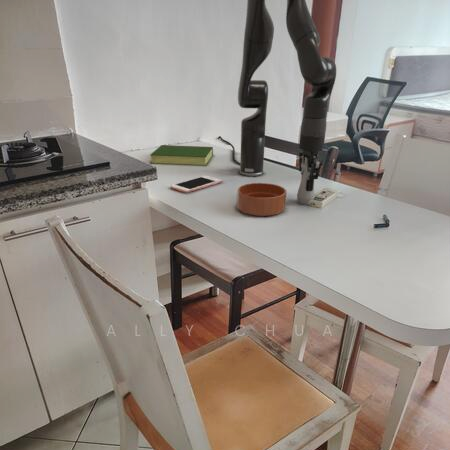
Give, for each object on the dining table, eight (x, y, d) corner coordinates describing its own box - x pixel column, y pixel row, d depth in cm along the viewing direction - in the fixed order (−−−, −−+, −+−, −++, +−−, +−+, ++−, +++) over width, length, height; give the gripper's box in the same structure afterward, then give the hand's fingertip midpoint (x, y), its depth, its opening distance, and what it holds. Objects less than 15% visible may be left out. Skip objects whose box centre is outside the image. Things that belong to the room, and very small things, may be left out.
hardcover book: (212, 155, 191) (212, 146, 189) (205, 165, 175) (205, 156, 173) (160, 153, 194) (160, 145, 192) (149, 163, 178) (148, 154, 176)
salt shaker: (303, 206, 133) (307, 165, 126) (292, 201, 138) (296, 161, 131) (317, 203, 136) (322, 163, 129) (306, 198, 140) (311, 159, 133)
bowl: (232, 202, 136) (233, 184, 133) (276, 199, 139) (278, 181, 136) (243, 219, 124) (243, 199, 121) (291, 215, 126) (293, 196, 123)
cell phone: (221, 182, 155) (221, 179, 154) (186, 193, 144) (186, 190, 143) (205, 177, 160) (205, 175, 159) (170, 188, 149) (169, 185, 148)
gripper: (293, 129, 130) (288, 183, 139) (309, 138, 118) (303, 196, 128) (315, 128, 131) (309, 181, 141) (334, 137, 120) (325, 195, 129)
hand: (306, 188), depth 134 cm, fingers open, 4 cm apart
